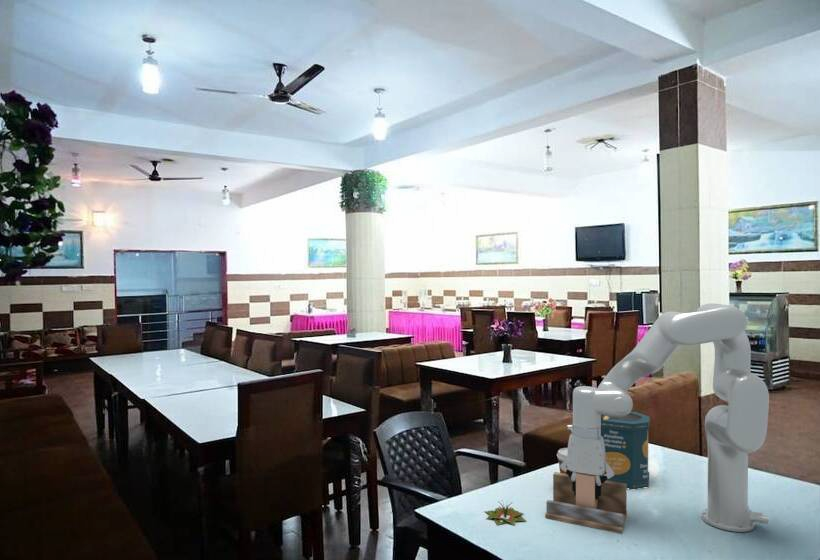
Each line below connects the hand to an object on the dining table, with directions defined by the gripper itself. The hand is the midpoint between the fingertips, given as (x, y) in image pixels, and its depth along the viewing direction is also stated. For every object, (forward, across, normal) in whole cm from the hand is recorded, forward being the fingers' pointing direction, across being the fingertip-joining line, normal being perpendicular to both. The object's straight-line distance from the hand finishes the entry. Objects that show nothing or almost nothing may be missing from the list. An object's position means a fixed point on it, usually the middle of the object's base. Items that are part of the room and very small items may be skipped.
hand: (586, 495), depth 152 cm
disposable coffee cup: (+6, -7, +17) cm, 19 cm away
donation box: (+6, +6, +34) cm, 35 cm away
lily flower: (+7, -20, -11) cm, 24 cm away
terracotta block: (+3, 0, 0) cm, 3 cm away
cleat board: (+6, 0, 0) cm, 6 cm away
